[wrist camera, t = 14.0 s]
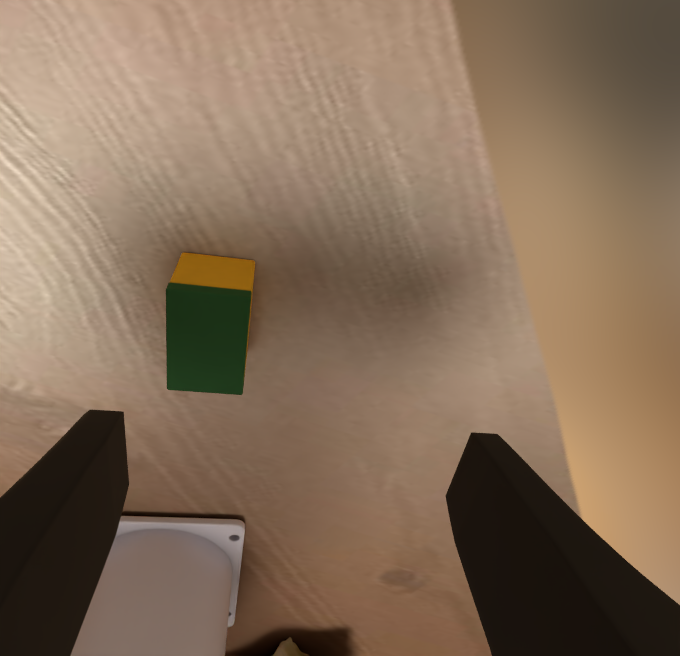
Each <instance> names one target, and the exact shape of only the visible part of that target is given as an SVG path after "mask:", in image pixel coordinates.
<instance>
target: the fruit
mask: <svg viewBox="0 0 680 656" xmlns="http://www.w3.org/2000/svg"><path fill="white" fill-rule="evenodd" d="M272 656H309V655H307V654H305V653H302V652H301V651H300V650H299V648H298V646H297V645H296V644H295V643H294V642H292V638H290V637H289V638H288V639H287V640H286V641H282V642H281V643H280V644H279V647H278V648H277V650H276V652H275V653H274V655H272Z"/></svg>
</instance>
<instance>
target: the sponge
mask: <svg viewBox="0 0 680 656" xmlns="http://www.w3.org/2000/svg"><path fill="white" fill-rule="evenodd" d="M254 271H255V261H253V260H246V259H237V258H229V257H220V256H211V255H203V254H194V253H185V252H184V253H182V254H181V257H180V259H179V261H178V264H177V266H176V268H175V271H174V273H173V275H172V278H171V280H170V282H169V284H168V286H167V288H166V341H167V389H168V390H179V391H193V392H207V393H221V394H236V395H242V394H243V386H244V377H245V367H246V358H247V349H248V338H249V327H250V316H251V304H252V293H253V282H254Z"/></svg>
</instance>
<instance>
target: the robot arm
mask: <svg viewBox="0 0 680 656" xmlns="http://www.w3.org/2000/svg"><path fill="white" fill-rule="evenodd" d="M128 486H129V478H128V465H127V451H126V438H125V425H124V412H121V411H104V410H89V411H88V412H86V413H85V414H84V415H83V416H82V417H81V418H80V419H79V420H78V421H77V422H76V423H75V424H74V425H73V427H72V428H71V429H70V430H69V431H68V432H67V433H66V434H65V435H64V436H63V437H62V438H61V439H60V440H59V441H58V442H57V443H56V444H55V445H54V446H53V447H52V448H51V449H50V450H49V451H48V452H47V453H46V454H45V455H44V456H43V457H42V458H41V459H40V460H39V461H38V462H37V463H36V464H35V465H34V466H33V467H32V468H31V469H30V470H29V471H28V472H27V473H26V474H25V475H24V476H23V477H22V478H20V479H19V480H18V481H17V482H16V483H15V484H14V485H13V486H12V487H11V488H10V489H9V490H8V491H7V492H6V493H5V494H4V495H3V496H1V497H0V656H225V649H226V639H227V628H228V627H231V626H232V625H233V624H234V621H235V613H236V604H237V595H238V586H239V578H240V569H241V560H242V552H243V543H244V534H245V523H244V522H243V521H241V520H238V519H212V518H179V517H146V516H121V514H122V510H123V506H124V502H125V498H126V494H127V490H128ZM446 500H447V506H448V511H449V517H450V522H451V527H452V531H453V536H454V541H455V544H456V547H457V550H458V554H459V557H460V560H461V563H462V566H463V569H464V572H465V575H466V578H467V581H468V584H469V587H470V590H471V593H472V596H473V599H474V602H475V605H476V608H477V611H478V614H479V617H480V620H481V623H482V626H483V629H484V632H485V635H486V638H487V641H488V644H489V647H490V650H491V654H492V656H680V605H679V604H678V603H676V602H675V601H674V600H673V599H671V598H670V597H669V596H668V595H666V594H665V593H664V592H663V591H661V590H660V589H659V588H658V587H657V586H655V585H654V584H653V583H652V582H651V581H649V580H648V579H647V578H646V577H645V576H643V575H642V574H641V573H640V572H639V571H638V570H636V569H635V568H634V567H633V566H632V565H631V564H629V563H628V562H627V561H626V560H625V559H624V558H622V556H621V555H619V554H618V553H617V552H616V551H615V550H614V549H613V548H612V547H611V546H610V545H609V544H607V543H606V542H605V541H604V540H603V539H602V538H601V537H600V536H599V535H598V534H596V533H595V531H593V530H592V529H591V528H590V527H589V526H588V525H587V524H586V523H585V522H584V521H583V520H582V519H581V518H580V517H579V516H578V515H577V514H576V513H575V512H574V511H573V510H572V509H571V508H570V507H569V506H568V505H567V504H566V503H565V502H564V501H563V500H562V499H561V498H560V497H559V496H558V495H557V494H556V493H555V492H554V491H553V490H552V489H551V488H550V487H549V486H548V485H547V484H546V483H545V482H544V481H543V480H542V479H541V478H540V477H539V476H538V475H537V474H536V473H535V472H534V470H533V469H532V468H531V467H530V466H529V465H528V464H527V463H526V462H525V461H524V460H523V459H522V458H521V457H520V456H519V455H518V454H517V453H516V452H515V451H514V450H513V449H512V448H511V447H510V446H509V445H508V444H507V443H506V442H505V441H504V440H503V439H502V438H501V437H500V436H499V435H498V434H488V433H471V435H470V437H469V440H468V442H467V444H466V447H465V449H464V452H463V454H462V457H461V459H460V462H459V464H458V467H457V469H456V472H455V474H454V477H453V479H452V482H451V484H450V486H449V489H448V491H447V494H446Z"/></svg>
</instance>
